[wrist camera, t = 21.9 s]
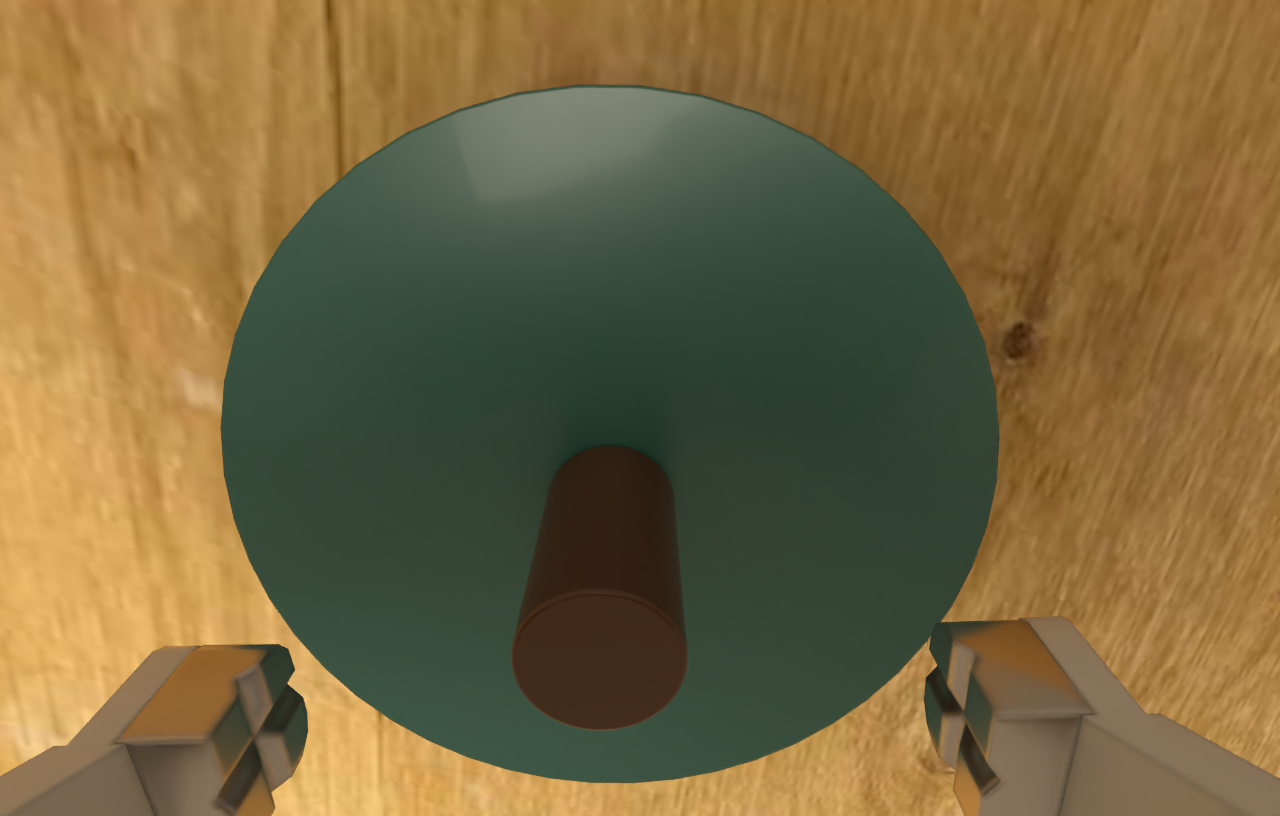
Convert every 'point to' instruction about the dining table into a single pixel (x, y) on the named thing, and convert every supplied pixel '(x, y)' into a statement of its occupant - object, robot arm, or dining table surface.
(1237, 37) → the dining table surface
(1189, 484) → the dining table surface
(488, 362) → the tin lid
